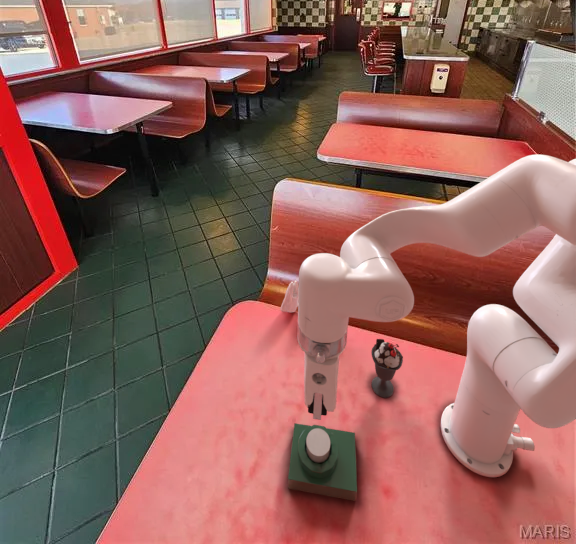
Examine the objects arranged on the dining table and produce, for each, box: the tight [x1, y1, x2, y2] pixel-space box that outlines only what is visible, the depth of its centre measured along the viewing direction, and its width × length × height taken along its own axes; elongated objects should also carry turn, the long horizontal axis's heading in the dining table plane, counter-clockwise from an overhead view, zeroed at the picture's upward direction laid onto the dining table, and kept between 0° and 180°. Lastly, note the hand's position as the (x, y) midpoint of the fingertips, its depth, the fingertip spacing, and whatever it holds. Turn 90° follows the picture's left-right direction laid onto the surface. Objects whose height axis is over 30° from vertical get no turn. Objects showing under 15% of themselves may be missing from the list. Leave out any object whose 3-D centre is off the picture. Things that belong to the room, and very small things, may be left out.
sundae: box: [370, 338, 404, 399], centre depth 73 cm, size 7×7×15 cm
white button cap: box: [306, 428, 330, 463], centre depth 60 cm, size 4×4×2 cm
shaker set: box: [279, 279, 299, 313], centre depth 94 cm, size 12×4×11 cm, turn 84°
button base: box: [287, 422, 358, 502], centre depth 61 cm, size 12×9×5 cm
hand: (317, 409), depth 57 cm, fingers closed
